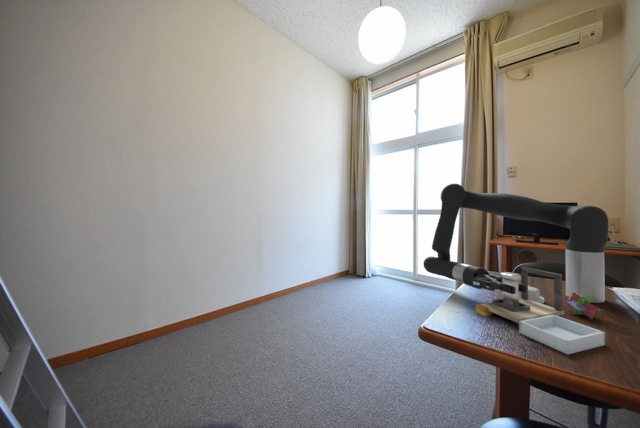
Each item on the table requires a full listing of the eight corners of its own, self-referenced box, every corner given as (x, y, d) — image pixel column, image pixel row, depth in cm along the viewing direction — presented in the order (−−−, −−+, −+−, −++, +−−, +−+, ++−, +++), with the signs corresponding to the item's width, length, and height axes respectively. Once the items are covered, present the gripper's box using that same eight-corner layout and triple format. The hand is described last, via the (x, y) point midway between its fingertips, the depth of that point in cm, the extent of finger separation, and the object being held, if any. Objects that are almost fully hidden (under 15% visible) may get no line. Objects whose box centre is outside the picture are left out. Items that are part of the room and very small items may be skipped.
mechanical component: (518, 304, 81) (552, 306, 79) (518, 291, 81) (552, 292, 79) (502, 294, 90) (531, 295, 88) (501, 282, 90) (531, 283, 88)
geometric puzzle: (616, 316, 65) (595, 288, 70) (593, 317, 65) (573, 288, 70) (591, 322, 71) (573, 295, 76) (570, 323, 71) (553, 296, 75)
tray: (553, 325, 65) (553, 314, 65) (605, 344, 55) (605, 332, 55) (518, 332, 62) (518, 321, 62) (567, 354, 52) (567, 341, 52)
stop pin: (508, 302, 75) (508, 271, 75) (525, 308, 70) (525, 275, 70) (496, 304, 74) (496, 272, 74) (513, 310, 69) (513, 277, 69)
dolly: (521, 304, 79) (520, 266, 79) (564, 319, 68) (563, 274, 68) (475, 312, 74) (475, 270, 74) (514, 329, 63) (513, 281, 63)
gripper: (453, 266, 84) (502, 279, 67) (484, 263, 88) (537, 275, 71) (454, 287, 84) (502, 305, 68) (484, 283, 88) (538, 299, 71)
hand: (520, 289), depth 69 cm, fingers closed on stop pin, 4 cm apart
